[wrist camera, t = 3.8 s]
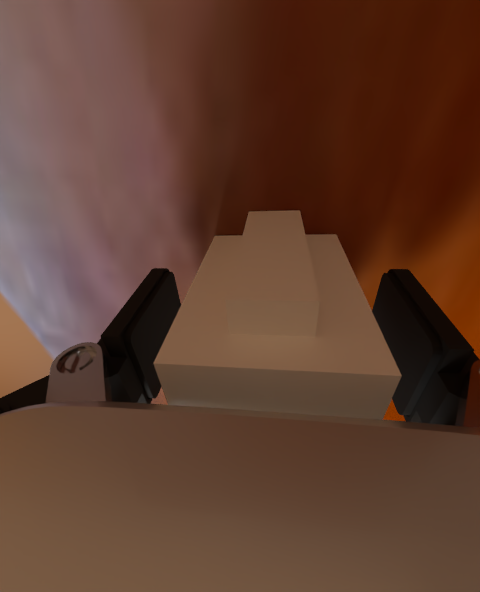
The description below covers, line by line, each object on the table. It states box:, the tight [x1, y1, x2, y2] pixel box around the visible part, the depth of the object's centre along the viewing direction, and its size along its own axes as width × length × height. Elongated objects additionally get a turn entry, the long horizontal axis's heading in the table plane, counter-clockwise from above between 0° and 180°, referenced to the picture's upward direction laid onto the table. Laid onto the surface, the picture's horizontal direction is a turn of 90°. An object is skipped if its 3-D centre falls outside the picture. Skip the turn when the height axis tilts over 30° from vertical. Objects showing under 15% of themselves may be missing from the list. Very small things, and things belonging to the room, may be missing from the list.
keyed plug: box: [153, 210, 402, 420], centre depth 9 cm, size 5×5×7 cm
